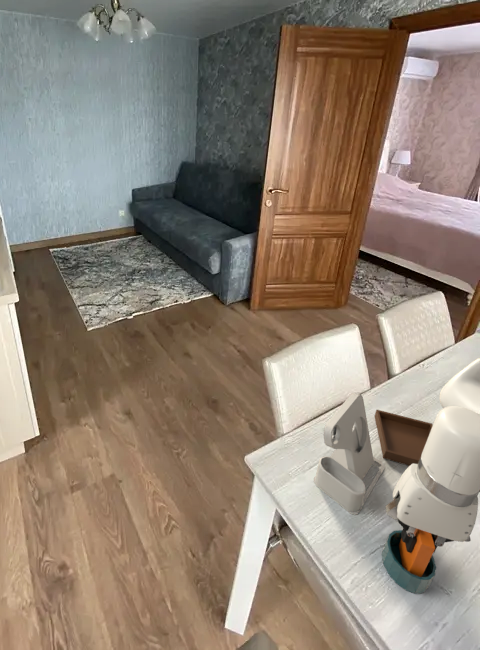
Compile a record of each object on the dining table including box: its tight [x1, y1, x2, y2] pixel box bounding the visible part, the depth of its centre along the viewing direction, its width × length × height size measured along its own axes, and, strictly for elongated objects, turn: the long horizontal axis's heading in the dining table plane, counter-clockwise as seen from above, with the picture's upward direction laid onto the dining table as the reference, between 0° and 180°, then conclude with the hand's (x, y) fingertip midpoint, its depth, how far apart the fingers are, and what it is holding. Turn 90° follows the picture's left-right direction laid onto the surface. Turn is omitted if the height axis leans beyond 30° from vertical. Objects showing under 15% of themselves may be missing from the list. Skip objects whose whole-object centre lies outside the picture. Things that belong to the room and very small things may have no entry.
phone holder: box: [313, 392, 385, 516], centre depth 77 cm, size 17×10×18 cm, turn 132°
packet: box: [399, 529, 435, 577], centre depth 62 cm, size 2×6×11 cm, turn 160°
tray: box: [374, 409, 434, 467], centre depth 88 cm, size 13×13×2 cm
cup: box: [381, 529, 437, 595], centre depth 63 cm, size 7×7×5 cm
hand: (415, 545), depth 62 cm, fingers closed on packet, 2 cm apart
